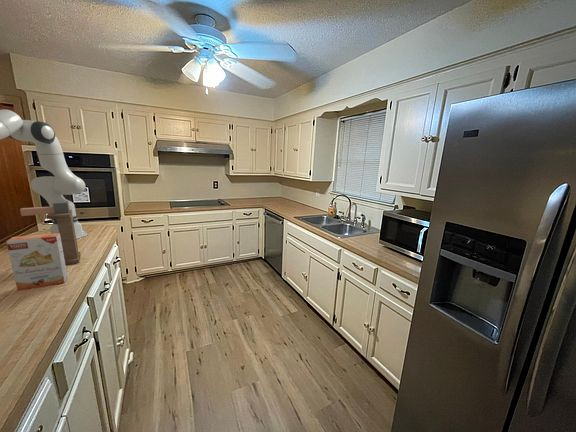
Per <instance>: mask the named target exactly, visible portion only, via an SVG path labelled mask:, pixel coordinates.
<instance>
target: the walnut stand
mask: <svg viewBox="0 0 576 432" xmlns="http://www.w3.org/2000/svg"><path fill="white" fill-rule="evenodd" d="M45 218H46V220H52V219H55V218H56V219H57V224H58V230H59V233H60V237H61V243H62V248H63V254H64V259H65V265H66V266H71V265H75V264H80V262H81V256H82V254H81V251H79V246H78V242H77V241H78V240H77V239H76V234H75V228H74V222H73V216H72V210H70V212H69V213H61V214H45Z"/></svg>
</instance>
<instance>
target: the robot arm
mask: <svg viewBox="0 0 576 432" xmlns="http://www.w3.org/2000/svg"><path fill="white" fill-rule="evenodd" d="M55 132H56V131H55V130H54V128H53V127H52V125H50V124H49V123H47V122H44V121H41V120H40V121H37V120H30V119H29V120H28V119H22V118H21V116H20V115H19V114H17V113H16V112H15V111H13V110H10V109H0V140H3V139H5V138H8V139H10V140H14V141H17V142H27V143H33V144H34V145H35V149H36V150H35V151H36V155H37V157H38V161H39V165H40V167H41V168H42V169H44V170H45V171H48V172H50V173H51V174H52V175H53V176H50V175H49V176H46V175H45V176H38V177H34V178H33V179H32V180H31V182H30V187H31V189H32V191H33V192H34V193H35V194H38V195H40V196H41V197H42V198H44V200H45V201H46V202H47V203H48V205H49V206H48V207H51V206H53V203H54V202H61V201H68V203H69V208H70V210H72V216H73V222H74V228H75V234H76V240H77V239H80V238H84V237H87V236H88V234H87V233H86V231H85V230H84V228H83V226H82V224H81V223H80V222H79V218H78V215H77V213H76V212H77V211H76V206H75V204H74V202H72V201H71V200H68V199H66V198H65V196H67V195H69V196H70V195H79V194H82V193H84V191H85V190H86V183H85V181H84V180H83V179H82V178H80V176H79V177H78V176H77V175H75V174H74V173H73V172H72V170H71V169H70V168H69V166H68V164H67V162H66V159H65V155H64V150H63V148H62V146H61V143H60V141H59V139H58V137H57V136H56V133H55ZM64 195H65V196H64ZM51 222H52V224H51V226H49V229H50V234H53V233H59V230H58V224H57V219H56V218H55V219H51Z"/></svg>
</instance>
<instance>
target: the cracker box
mask: <svg viewBox="0 0 576 432" xmlns="http://www.w3.org/2000/svg"><path fill="white" fill-rule="evenodd" d="M5 242H6V246H7V251H8V254H9V260H10V264H11V268H12V273H13V277H14V282H15V285H16V290H17V292H21V291H26V290H32V289H39V288H44V287H50V286H56V285H57V286H58V285H61V284H63V283H64V284H65V283H66V281H67V280H68V278H69V277H68V272H67V267H66V266H67V265H65V259H64V254H63V248H62V243H61V237H60V233H53V234H51V233H43V234H34V235H33V234H32V235H20V236H12V237H11V238H9V239H7V240H6V241H5Z"/></svg>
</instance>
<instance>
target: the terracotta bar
mask: <svg viewBox="0 0 576 432" xmlns="http://www.w3.org/2000/svg"><path fill="white" fill-rule="evenodd" d="M19 211H20V216H21V217H24V216H28V217H29V216H39V215H47V214H61V213H69V212H70V208H69V203H68V201H61V202H54V203H53V206H51V207H50V206H40V207H39V206H38V207H36V206H35V207H21V208H20V209H19Z"/></svg>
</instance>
